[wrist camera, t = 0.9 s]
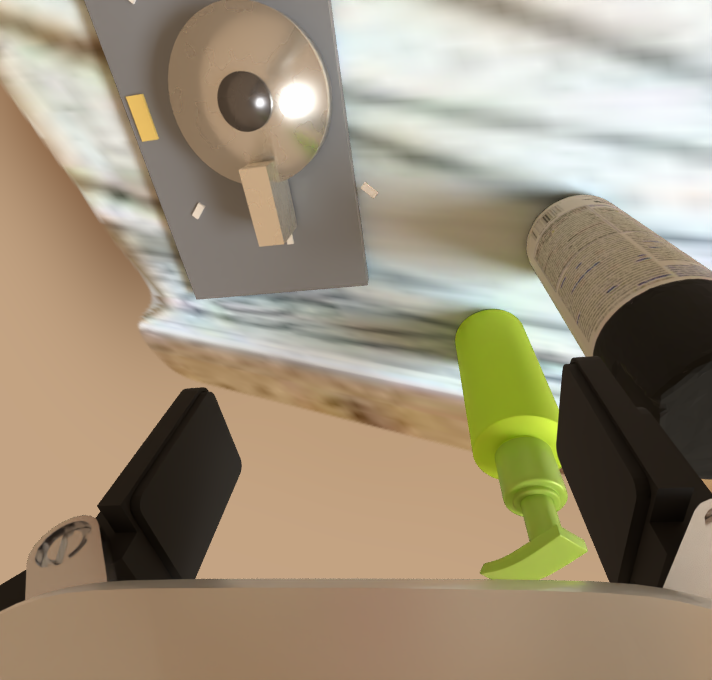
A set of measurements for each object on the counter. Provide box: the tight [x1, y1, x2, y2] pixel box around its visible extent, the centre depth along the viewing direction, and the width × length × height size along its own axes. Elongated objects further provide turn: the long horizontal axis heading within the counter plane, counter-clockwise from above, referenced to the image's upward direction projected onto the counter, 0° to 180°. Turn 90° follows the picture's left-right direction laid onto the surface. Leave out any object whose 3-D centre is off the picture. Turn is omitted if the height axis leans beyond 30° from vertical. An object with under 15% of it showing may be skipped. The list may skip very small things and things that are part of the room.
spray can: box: [526, 195, 712, 479], centre depth 24 cm, size 7×7×20 cm
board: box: [84, 0, 378, 299], centre depth 30 cm, size 22×17×1 cm
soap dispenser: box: [455, 309, 588, 580], centre depth 29 cm, size 6×7×20 cm
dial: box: [168, 0, 333, 247], centre depth 27 cm, size 14×10×4 cm
